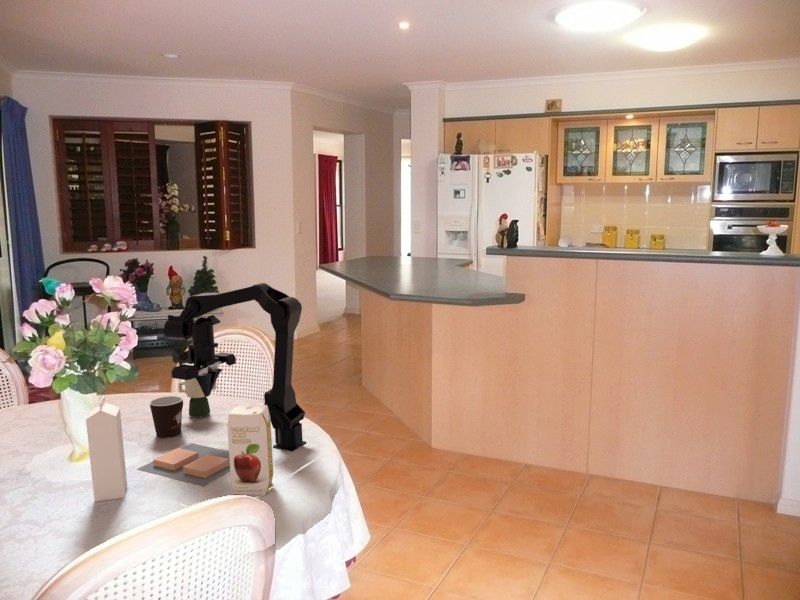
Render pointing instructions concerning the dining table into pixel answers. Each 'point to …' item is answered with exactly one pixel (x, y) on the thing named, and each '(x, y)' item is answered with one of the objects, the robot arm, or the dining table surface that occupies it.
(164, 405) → the coffee mug
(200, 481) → the mat
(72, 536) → the dining table surface
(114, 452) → the milk
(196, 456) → the tile
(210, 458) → the tile
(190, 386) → the character mug
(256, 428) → the juice carton
